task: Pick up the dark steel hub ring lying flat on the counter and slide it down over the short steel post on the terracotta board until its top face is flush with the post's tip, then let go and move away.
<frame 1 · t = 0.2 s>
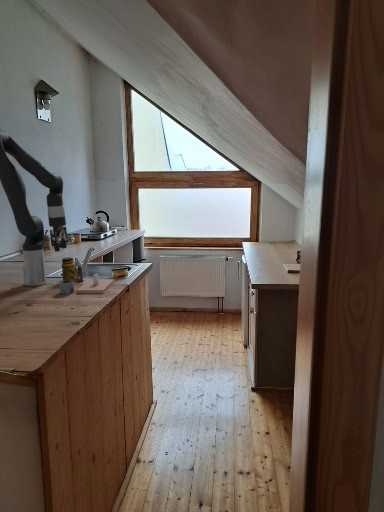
hand: (60, 249, 172), 17 cm above the table, tool pointing down, fingers open, 8 cm apart
hub: (67, 292, 162), on the table
shaft stand: (96, 287, 169), on the table
condiment: (67, 282, 181), on the table
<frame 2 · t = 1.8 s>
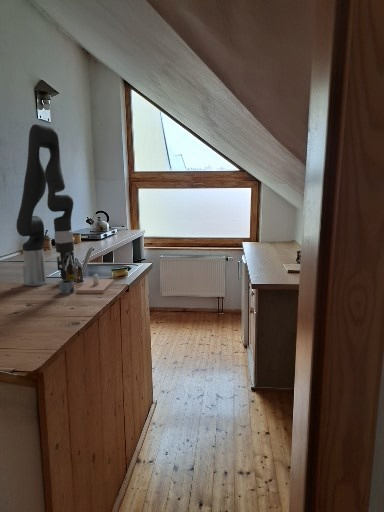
hand: (67, 276, 161), 7 cm above the table, tool pointing down, fingers open, 8 cm apart
nothing on the table moved.
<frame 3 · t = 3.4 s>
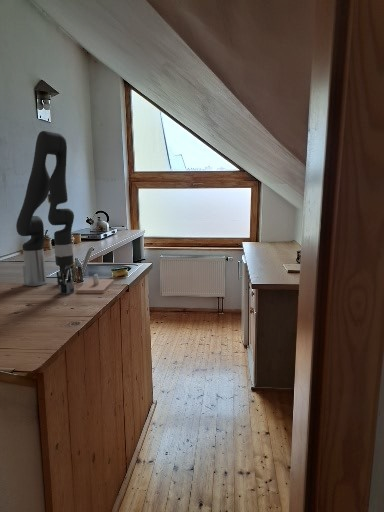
hand: (66, 290, 161), 1 cm above the table, tool pointing down, fingers closed on hub, 6 cm apart
hub: (67, 292, 162), on the table, touching gripper
everything else where it was.
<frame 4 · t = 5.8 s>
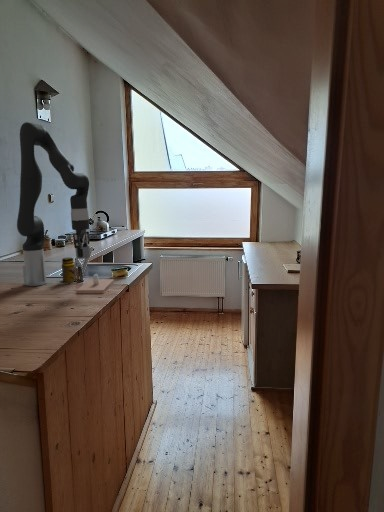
hand: (83, 255, 163), 16 cm above the table, tool pointing down, fingers closed on hub, 6 cm apart
hub: (83, 257, 163), point 15 cm above the table, touching gripper
everything else where it was.
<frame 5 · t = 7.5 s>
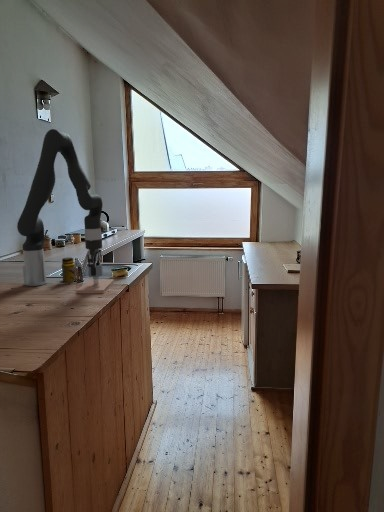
hand: (95, 273, 168), 7 cm above the table, tool pointing down, fingers closed on hub, 6 cm apart
hub: (96, 275, 168), point 6 cm above the table, touching gripper
everything else where it was.
when the fingers open (4 cm above the table, at t = 8.6 s): hub drops 1 cm, resting on shaft stand.
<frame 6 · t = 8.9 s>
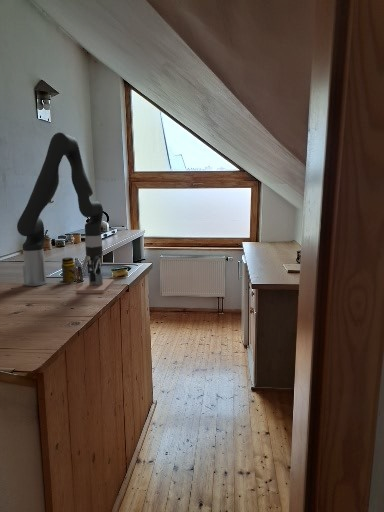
hand: (95, 279, 168), 4 cm above the table, tool pointing down, fingers open, 8 cm apart
hub: (96, 284, 169), point 1 cm above the table, touching shaft stand
everything else where it was.
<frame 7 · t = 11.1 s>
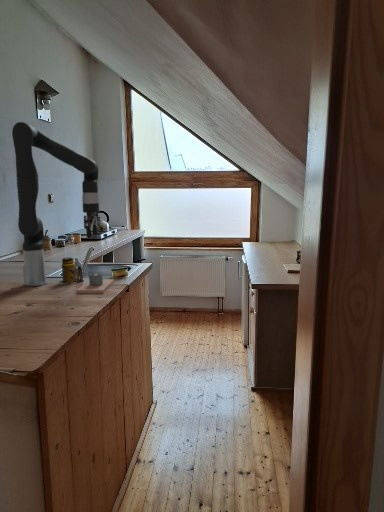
hand: (92, 236, 174), 23 cm above the table, tool pointing down, fingers open, 8 cm apart
nothing on the table moved.
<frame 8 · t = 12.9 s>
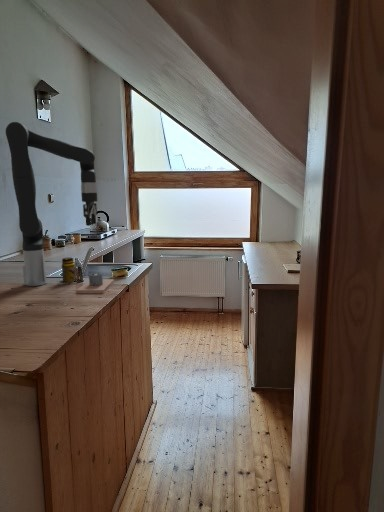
hand: (91, 224, 181), 28 cm above the table, tool pointing down, fingers open, 8 cm apart
nothing on the table moved.
at the end: hub 0.0 cm off-centre on the shaft stand, point 1.5 cm above the shaft stand's base; hub tilted 0°; the gripper is holding nothing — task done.
